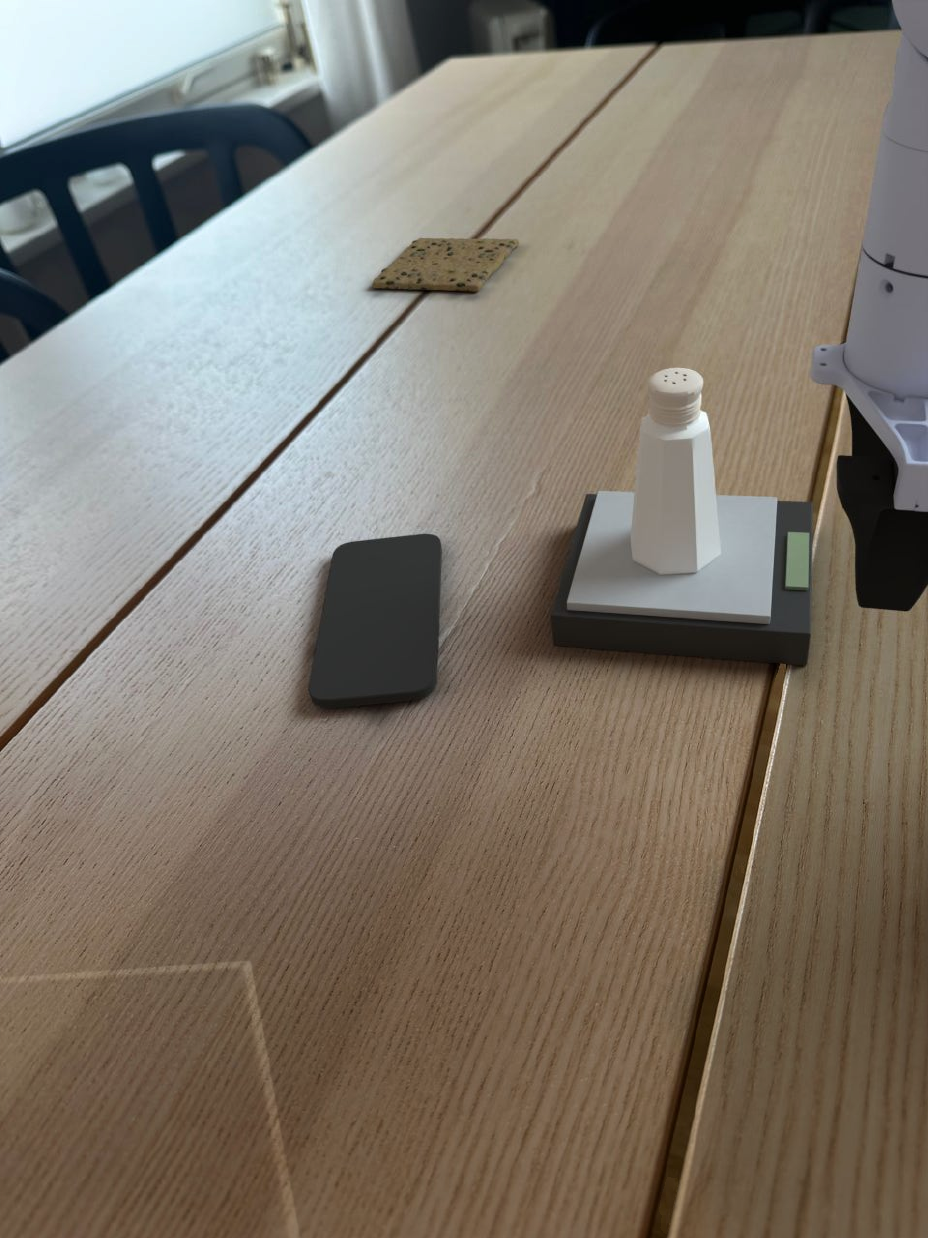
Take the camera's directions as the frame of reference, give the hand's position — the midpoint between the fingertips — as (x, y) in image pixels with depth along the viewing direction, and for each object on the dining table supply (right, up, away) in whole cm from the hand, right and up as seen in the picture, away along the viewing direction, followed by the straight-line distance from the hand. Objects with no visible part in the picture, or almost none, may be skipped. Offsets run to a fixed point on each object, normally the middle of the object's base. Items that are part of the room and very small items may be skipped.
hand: (880, 547), depth 44 cm
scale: (-5, -1, +16) cm, 16 cm away
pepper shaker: (-6, +1, +14) cm, 15 cm away
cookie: (-20, +33, +58) cm, 70 cm away
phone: (-24, -3, +17) cm, 29 cm away
